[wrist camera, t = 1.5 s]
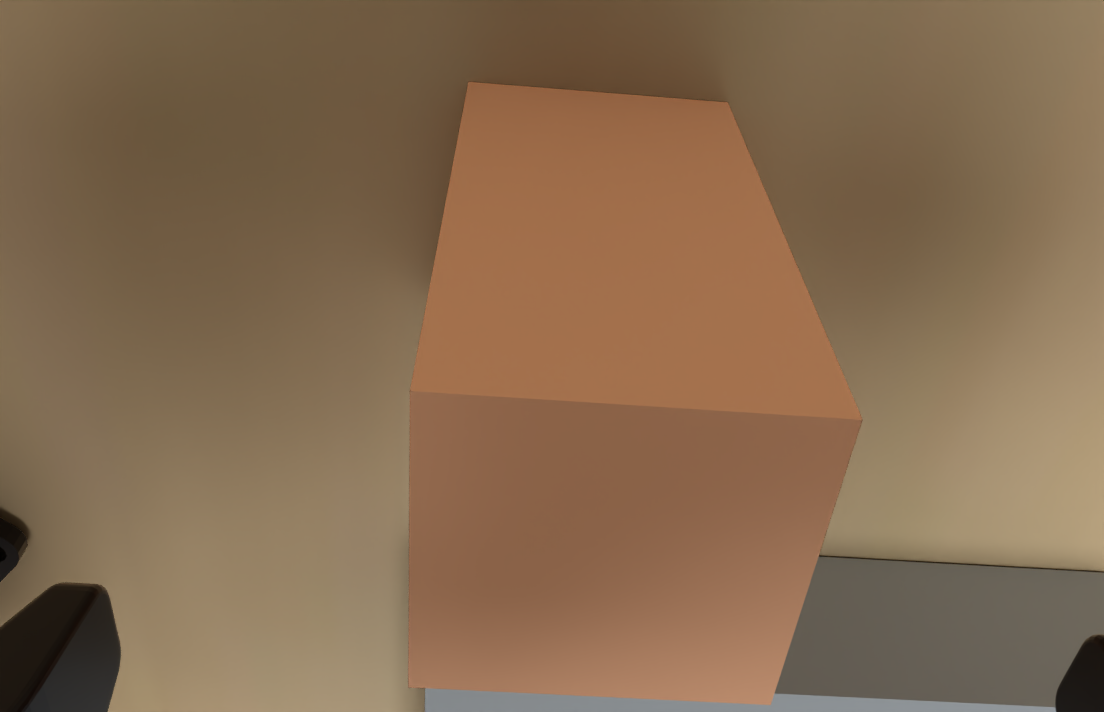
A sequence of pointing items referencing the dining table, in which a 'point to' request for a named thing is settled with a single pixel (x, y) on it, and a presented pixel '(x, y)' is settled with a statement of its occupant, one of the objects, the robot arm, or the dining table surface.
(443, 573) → the peg
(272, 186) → the dining table surface
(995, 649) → the socket block
